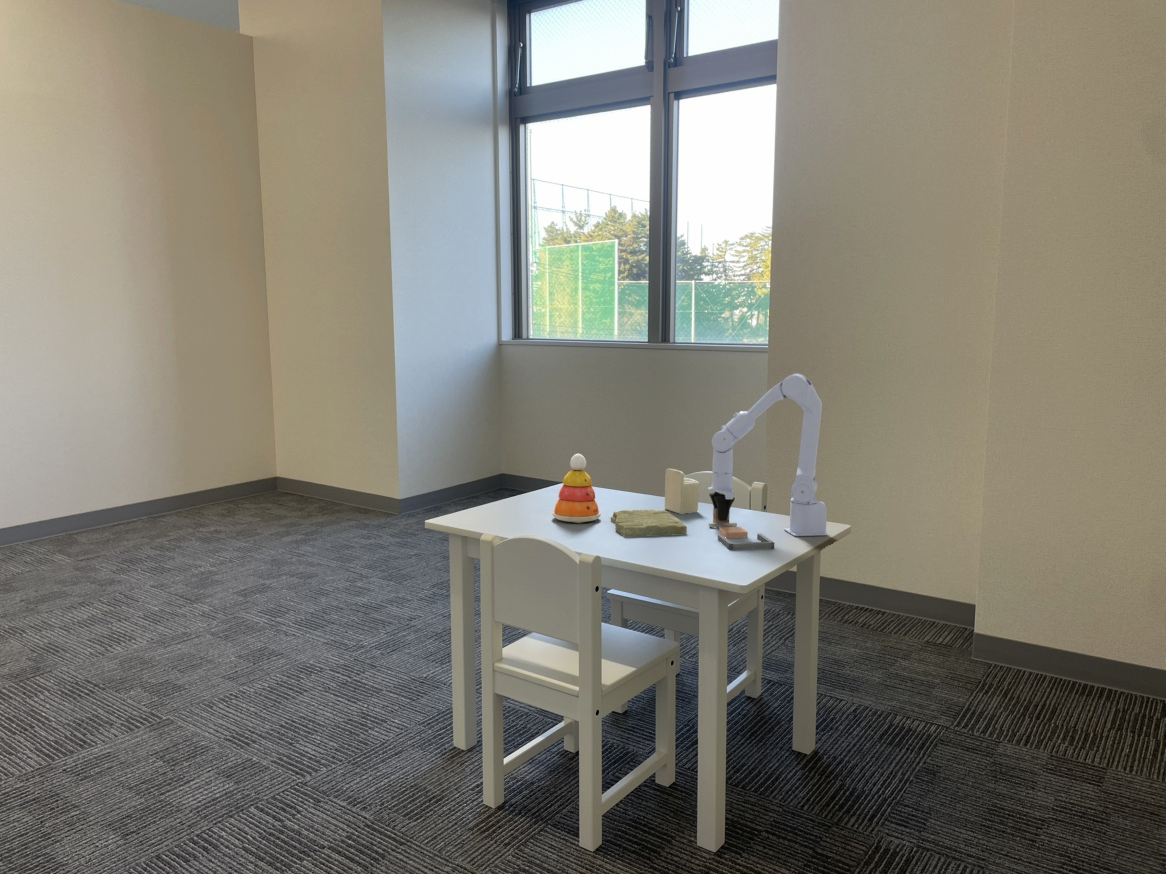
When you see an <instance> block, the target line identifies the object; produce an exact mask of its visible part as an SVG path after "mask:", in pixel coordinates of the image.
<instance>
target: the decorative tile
mask: <svg viewBox="0 0 1166 874" xmlns="http://www.w3.org/2000/svg"><path fill="white" fill-rule="evenodd" d="M610 522H611V523H612V522H613V524H614V525H615V530H616V531H617V532H618V534H620V535H621V534H622V535H621V536H622V537H623V536H632V537H647V536H646V535H659V536H673V535H672V534H685V535H687V533H688V532H687V531H688V527H687V525H685V523H683V521H681V520H680V519H679V518H677V517H676V516H675V515H673V514H671V513H670V512H668V510H666V509H664V510H656V509H655V510H653V509H648V510H647V509H634V510H627V509H625V510H620V511H619V510H618V511H614V512H613V514H612V516H611V517H610Z"/></svg>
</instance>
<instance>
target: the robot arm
mask: <svg viewBox="0 0 1166 874" xmlns="http://www.w3.org/2000/svg"><path fill="white" fill-rule="evenodd" d="M787 398H788V399H790V400H792V401H793V402H796V404H797V405H799V407H800V408H801V409H802V410H803V416H802V425H801V435H800V436H801V437H800V445H799V455H798V463H797V464H798V465H797V470H796V475H795V480H794V483H793V484H792V486H791V488H790V494H791V498H790V508H789V511H790V512H789V527H784V528H783V530H784V531H786V532H787V533H789V534H791V535H792V536H794V537H808V536H809V537H811V536H828V533H827V518H828V516H827V515H828V514H827V513H828V511H827V506H826V503H825V502H824V501H821V500H819V501H818V499H817V498H816V493H817V491H818V488H819V487H818V486H819V485H818V481H817V480H816V473H817V471H816V470H817V469H816V466H817V456H818V455H817V454H818V447H819V438H820V429H821V419H822V411H823V402H822V400H821V398H820V396H819V395H818V393H817V391H816V388H815V387H814V385H813V382H812V381H811V380H810V379H808V378H807V376H806V375H804V374H801V373H792V374H790V375H789V376H787V377H785V378H784V379H783V380H782V381H780V382H779V383H777V384H776V385H774V386H773V387H771V388H770V389H769V390H767V392H766V393H765V394H763V396H761V397H760V398H759V400H757V402H756V403H755V404H753V406H751V407H750V408H749V409H748V410H747V411H745V410H740V411H739V412H735V413H734V414H733V415H732V418H731V420H729V421H728V422H727V423H726V424H723V425H722V426H720V428H721V430H719V431H717V432H714V435H713V436H712V438H711V446H712V448H713V454H712V455H713V456H712V472H711V473H712V475H711V477H712V478H711V479H712V480H711V481H712V482H711V484H710V487H707V490H708V491H710V493H709V497H710V499H711V502H712V505H713V508H717V509H718V518H719V521H727V518H728V514H729V510H731V507H732V505H733V504H734V502H735V497H734V488H733V481H734V480H733V479H734V478H733V476H734V474H733V473H734V469H733V468H734V455H733V453H734V452H733V451H734V446H735V445H736V442H738V441H739V442H740V440H741V439H743V437H745V436H746V435H747V434H748V433H749V432H750V431H751V430H753V428H755V425H756V419H757V418H758V417H760V416H761V414H763V413H764V412H765V411H767V410H768V409H769V408H770V407H771V406H773V404H775V403H777V402H778V401H782V400H783V401H784V400H785V399H787ZM711 492H712V493H711ZM713 492H714V493H713ZM729 515H730V514H729Z"/></svg>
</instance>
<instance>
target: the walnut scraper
mask: <svg viewBox="0 0 1166 874" xmlns="http://www.w3.org/2000/svg"><path fill="white" fill-rule="evenodd" d="M712 509H713V512H712V515H713V516H712V517H713V518H712V522H709V523H708V528H709V527H738V526H737V525H738V522H730V513H731V511H730V510H731V509H730V510H729V514H728V518H727V521H719V518H718V509H717V508H714V507H713V508H712Z"/></svg>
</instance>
